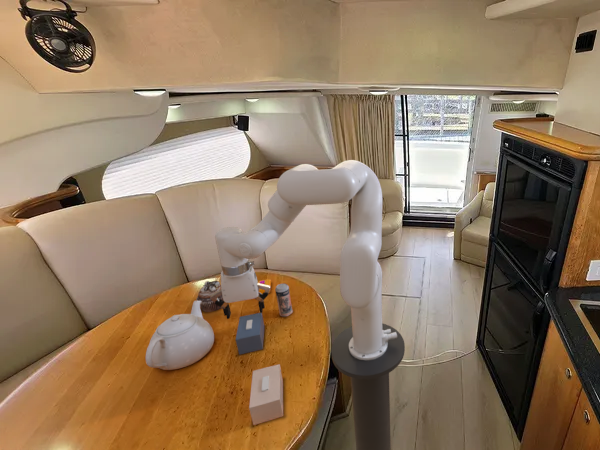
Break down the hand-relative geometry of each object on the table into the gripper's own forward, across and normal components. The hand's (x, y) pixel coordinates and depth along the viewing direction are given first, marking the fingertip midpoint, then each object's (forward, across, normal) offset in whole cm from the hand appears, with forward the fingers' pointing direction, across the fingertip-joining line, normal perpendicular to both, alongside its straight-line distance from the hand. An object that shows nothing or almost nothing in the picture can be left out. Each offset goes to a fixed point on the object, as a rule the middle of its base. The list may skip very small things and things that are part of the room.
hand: (245, 313), depth 102 cm
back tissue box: (+11, -1, 0) cm, 11 cm away
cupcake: (+11, +16, -26) cm, 32 cm away
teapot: (+11, +20, -1) cm, 22 cm away
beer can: (+11, -12, -11) cm, 19 cm away
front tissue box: (+10, -7, +27) cm, 30 cm away
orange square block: (+11, -2, -32) cm, 34 cm away
